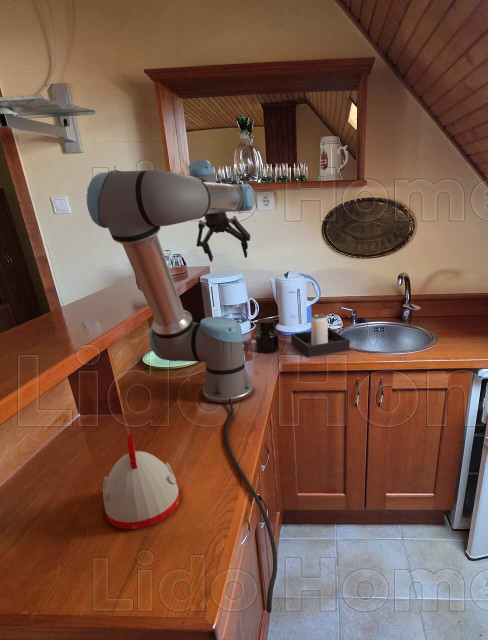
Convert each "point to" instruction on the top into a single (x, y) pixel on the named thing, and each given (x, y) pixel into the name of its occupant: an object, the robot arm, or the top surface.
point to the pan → (334, 344)
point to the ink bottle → (267, 336)
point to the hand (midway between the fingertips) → (228, 257)
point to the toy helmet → (139, 490)
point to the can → (319, 329)
